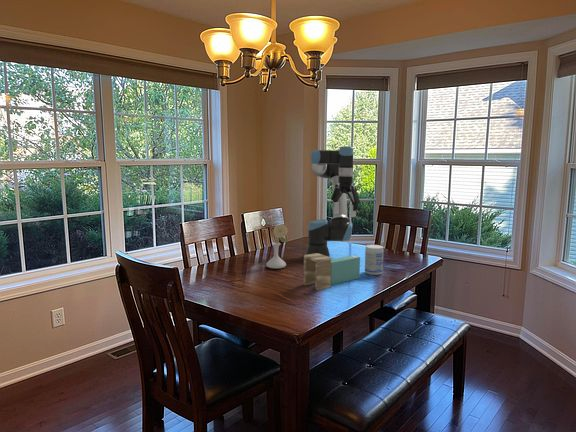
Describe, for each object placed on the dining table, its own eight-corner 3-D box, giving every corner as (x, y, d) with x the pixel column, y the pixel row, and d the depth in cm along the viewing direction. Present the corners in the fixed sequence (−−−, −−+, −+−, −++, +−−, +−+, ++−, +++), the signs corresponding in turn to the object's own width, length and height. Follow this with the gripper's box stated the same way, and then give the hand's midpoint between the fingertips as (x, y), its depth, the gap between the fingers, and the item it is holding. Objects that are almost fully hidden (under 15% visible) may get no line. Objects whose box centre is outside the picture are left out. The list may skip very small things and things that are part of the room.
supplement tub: (379, 276, 219) (380, 249, 217) (362, 274, 223) (362, 247, 221) (384, 272, 227) (385, 245, 225) (368, 269, 232) (368, 243, 230)
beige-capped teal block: (324, 282, 208) (325, 260, 206) (352, 275, 218) (353, 254, 217) (331, 284, 204) (331, 262, 202) (359, 278, 214) (360, 256, 213)
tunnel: (303, 285, 204) (303, 255, 202) (316, 282, 208) (316, 252, 206) (317, 291, 195) (317, 259, 193) (330, 288, 200) (331, 257, 197)
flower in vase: (262, 268, 233) (261, 224, 229) (272, 263, 243) (272, 221, 239) (282, 271, 227) (282, 226, 223) (292, 266, 237) (292, 223, 233)
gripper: (325, 174, 230) (324, 213, 233) (357, 177, 210) (355, 218, 213) (335, 174, 234) (334, 211, 238) (367, 176, 214) (366, 217, 217)
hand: (344, 215), depth 225 cm, fingers open, 13 cm apart
